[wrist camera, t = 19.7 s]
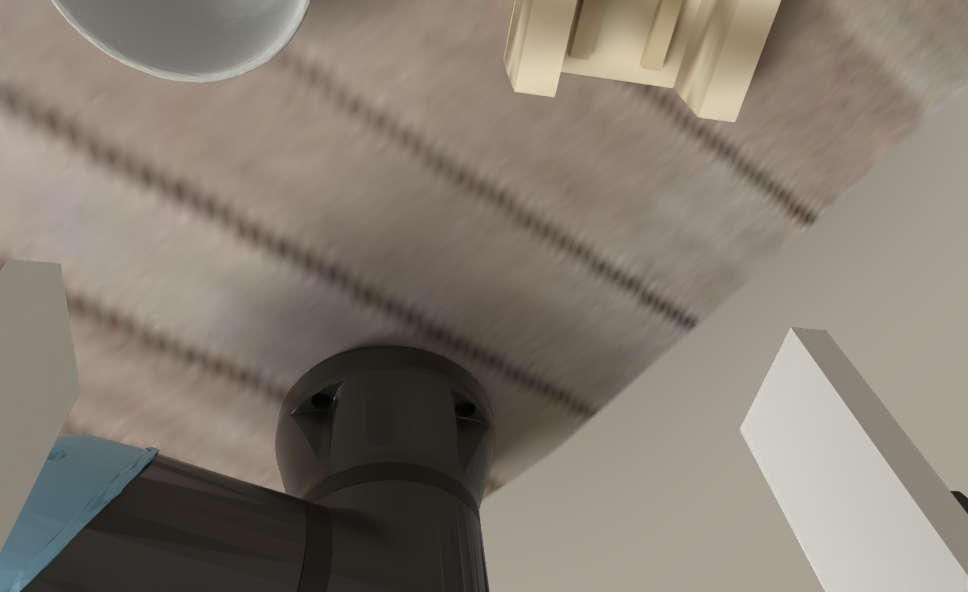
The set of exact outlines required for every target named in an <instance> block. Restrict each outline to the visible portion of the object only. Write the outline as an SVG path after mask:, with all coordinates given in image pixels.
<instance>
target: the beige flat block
mask: <svg viewBox="0 0 968 592" xmlns="http://www.w3.org/2000/svg"><path fill="white" fill-rule="evenodd" d="M780 2H781V0H515V1H514V6H513V12H512V17H511V22H510V27H509V33H508V38H507V43H506V48H505V53H504V59H503V63H504V66H505V68H506V71H507V73H508V76H509V79H510V81H511V84H512V87H513V89H514V92H521V93H528V94H535V95H542V96H549V97H555V93H556V89H557V85H558V81H559V76H560V72H566V73H572V74H579V75H586V76H593V77H600V78H607V79H613V80H620V81H627V82H634V83H641V84H648V85H654V86H661V87H668V88H673V89H674V90H675V91H676V92H677V93H678V95H679V96H680V97H681V98H682V99H683V100H684V101H685V103H686V104H687V105H688V106H689V107H690V108H691V109H692V111H693V112H694V113H695V114H696V115H697V116H698V117H700V118H707V119H714V120H721V121H728V122H735V121H736V118H737V116H738V113H739V110H740V108H741V105H742V103H743V100H744V97H745V95H746V92H747V89H748V87H749V84H750V81H751V79H752V76H753V74H754V71H755V68H756V66H757V63H758V60H759V58H760V55H761V52H762V50H763V47H764V44H765V42H766V39H767V37H768V34H769V31H770V29H771V26H772V23H773V21H774V18H775V15H776V13H777V10H778V8H779V5H780Z"/></svg>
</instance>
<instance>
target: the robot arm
mask: <svg viewBox="0 0 968 592" xmlns="http://www.w3.org/2000/svg"><path fill="white" fill-rule="evenodd" d="M79 392H80V385H79V379H78V372H77V366H76V360H75V353H74V347H73V341H72V334H71V328H70V321H69V315H68V309H67V302H66V296H65V290H64V283H63V277H62V270H61V264H58V263H46V262H35V261H23V260H12V259H9V260H8V261H7V262H6V264H5V265H4V266H3V268H2V269H1V270H0V592H489V584H488V577H487V570H486V562H485V555H484V547H483V539H482V532H481V524H480V516H479V508H480V505H481V501H482V497H483V494H484V490H485V486H486V483H487V479H488V475H489V472H490V468H491V464H492V460H493V456H494V452H495V430H494V423H493V417H492V411H491V406H490V403H489V401H488V398H487V396H486V394H485V392H484V391H483V389H482V388H481V386H480V385H479V384H478V382H477V381H476V380H475V379H474V378H473V377H472V376H471V375H470V374H469V373H468V372H466V371H465V370H464V369H462V368H461V367H460V366H458V365H456V364H455V363H453V362H451V361H449V360H447V359H445V358H443V357H441V356H438V355H435V354H433V353H429V352H426V351H422V350H418V349H412V348H405V347H372V348H364V349H359V350H354V351H351V352H347V353H344V354H341V355H338V356H335V357H333V358H331V359H329V360H326V361H324V362H323V363H321V364H319V365H317V366H316V367H314V368H313V369H311V370H310V371H309V372H307V373H306V374H305V375H304V376H303V377H301V378H300V379H299V380H298V381H297V382H296V383H295V385H294V386H293V387H292V388H291V390H290V391H289V393H288V394H287V396H286V398H285V400H284V402H283V404H282V407H281V410H280V415H279V420H278V426H277V432H276V440H275V450H276V459H277V463H278V467H279V470H280V474H281V477H282V481H283V485H284V488H285V492H286V494H285V493H282V492H278V491H275V490H272V489H268V488H265V487H262V486H258V485H255V484H252V483H248V482H245V481H242V480H238V479H235V478H232V477H229V476H226V475H223V474H219V473H216V472H213V471H210V470H207V469H204V468H201V467H198V466H194V465H191V464H188V463H185V462H182V461H179V460H176V459H173V458H170V457H166V456H163V455H160V454H157V453H158V452H159V449H156V448H153V447H149V448H146V449H142V448H138V447H134V446H130V445H126V444H122V443H119V442H115V441H111V440H107V439H103V438H99V437H95V436H91V435H86V434H67V435H63V436H59V437H58V435H59V433H60V431H61V429H62V427H63V425H64V423H65V421H66V419H67V417H68V415H69V412H70V410H71V408H72V406H73V404H74V402H75V400H76V398H77V396H78V394H79ZM740 431H741V433H742V435H743V437H744V438H745V441H746V442H747V444H748V446H749V448H750V450H751V452H752V454H753V456H754V458H755V459H756V461H757V463H758V465H759V467H760V469H761V471H762V473H763V475H764V477H765V479H766V480H767V482H768V484H769V486H770V488H771V490H772V492H773V494H774V496H775V497H776V499H777V501H778V503H779V505H780V507H781V509H782V511H783V513H784V514H785V516H786V518H787V520H788V522H789V524H790V526H791V528H792V530H793V532H794V534H795V535H796V537H797V539H798V541H799V543H800V545H801V547H802V549H803V551H804V552H805V554H806V556H807V558H808V560H809V562H810V564H811V566H812V567H813V570H814V571H815V573H816V575H817V577H818V579H819V581H820V583H821V585H822V587H823V588H824V590H825V592H968V498H967V497H966V496H964V495H963V494H962V493H961V492H959V491H950V490H949V489H948V488H947V486H946V485H945V484H944V483H943V481H942V480H941V479H940V477H939V476H938V475H937V474H936V473H935V471H934V470H933V468H932V467H931V466H930V464H929V463H928V462H927V461H926V459H925V458H924V457H923V455H922V454H921V453H920V451H919V450H918V449H917V448H916V446H915V445H914V444H913V442H912V441H911V440H910V439H909V437H908V436H907V435H906V433H905V432H904V431H903V430H902V428H901V427H900V426H899V424H898V423H897V422H896V420H895V419H894V418H893V417H892V415H891V414H890V413H889V411H888V410H887V409H886V408H885V406H884V405H883V404H882V402H881V401H880V400H879V398H878V397H877V396H876V395H875V393H874V392H873V391H872V389H871V388H870V387H869V385H868V384H867V383H866V382H865V380H864V379H863V378H862V376H861V375H860V374H859V373H858V371H857V370H856V369H855V367H854V366H853V365H852V363H851V362H850V361H849V359H848V358H847V357H846V356H845V355H844V353H843V352H842V351H841V349H840V348H839V347H838V345H837V344H836V343H835V341H834V340H833V339H832V337H831V336H830V335H829V334H828V332H827V331H826V330H815V329H803V328H793V327H791V328H790V330H789V332H788V334H787V336H786V338H785V340H784V342H783V344H782V346H781V348H780V350H779V352H778V354H777V356H776V358H775V360H774V362H773V364H772V366H771V368H770V370H769V372H768V374H767V376H766V378H765V380H764V382H763V384H762V386H761V388H760V390H759V392H758V394H757V396H756V398H755V400H754V402H753V404H752V406H751V408H750V410H749V412H748V414H747V416H746V418H745V420H744V422H743V424H742V426H741V428H740Z"/></svg>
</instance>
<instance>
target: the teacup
mask: <svg viewBox="0 0 968 592" xmlns="http://www.w3.org/2000/svg"><path fill="white" fill-rule="evenodd" d="M51 1H52V2H53V4H54V5H55V7H56V8H57V9H58V10H59V11H60V13H61V14H62V15H63V16H64V17H65V18H66V20H67V21H68V22H69V23H70V24H71V25H72V26H73V27H74V28H75V29H76V30H77V31H78V32H80V33H81V34H82V35H83V36H84V37H85V38H86V39H87V40H88V41H90V42H91V43H92V44H94V45H95V46H96V47H98V48H99V49H101V50H102V51H103V52H105V53H106V54H108V55H110V56H111V57H113V58H115V59H116V60H118V61H120V62H122V63H124V64H126V65H128V66H130V67H133V68H135V69H138V70H141V71H143V72H146V73H149V74H152V75H154V76H157V77H160V78H165V79H170V80H176V81H183V82H212V81H219V80H224V79H229V78H233V77H237V76H240V75H242V74H244V73H247V72H249V71H252V70H254V69H256V68H258V67H259V66H261V65H263V64H264V63H266V62H267V61H269V60H270V59H271V58H273V57H274V56H275V55H277V54H278V53H279V52H280V51H281V50H282V49H283V48H284V47H285V46H286V45H287V44H288V43H289V42H290V41H291V39H292V38H293V36H294V35H295V33H296V32H297V30H298V29H299V27H300V25H301V23H302V21H303V20H304V18H305V16H306V14H307V10H308V7H309V5H310V2H311V0H51Z"/></svg>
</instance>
